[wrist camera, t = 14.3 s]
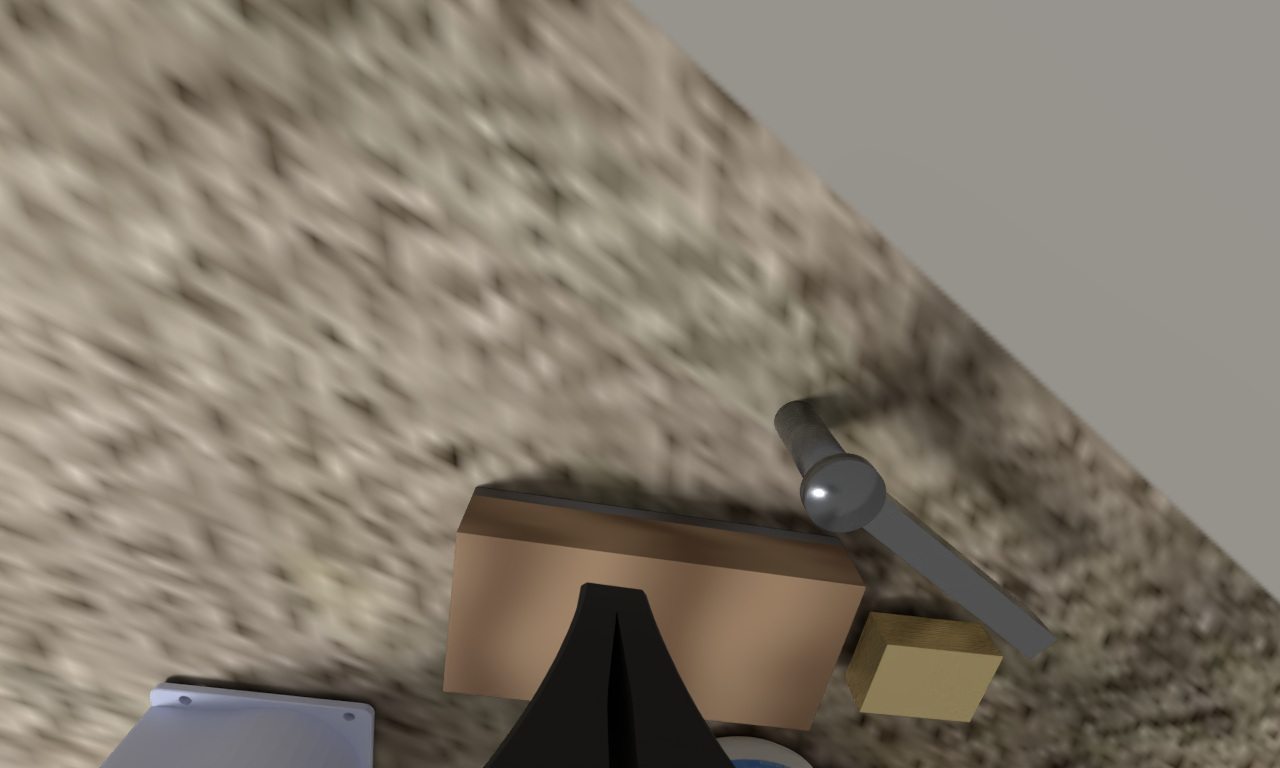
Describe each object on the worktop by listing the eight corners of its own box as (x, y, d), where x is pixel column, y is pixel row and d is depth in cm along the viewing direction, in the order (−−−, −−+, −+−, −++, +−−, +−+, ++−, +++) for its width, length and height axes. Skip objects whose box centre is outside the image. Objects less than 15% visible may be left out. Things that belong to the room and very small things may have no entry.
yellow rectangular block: (969, 722, 26) (942, 676, 28) (1003, 656, 24) (971, 613, 27) (859, 712, 25) (840, 665, 28) (887, 644, 24) (864, 601, 26)
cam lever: (952, 584, 26) (1033, 691, 21) (750, 424, 23) (789, 503, 18) (996, 548, 25) (1091, 649, 20) (795, 379, 22) (848, 447, 17)
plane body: (461, 633, 26) (442, 691, 23) (476, 486, 23) (456, 532, 21) (789, 672, 28) (809, 730, 25) (838, 537, 25) (866, 586, 22)
